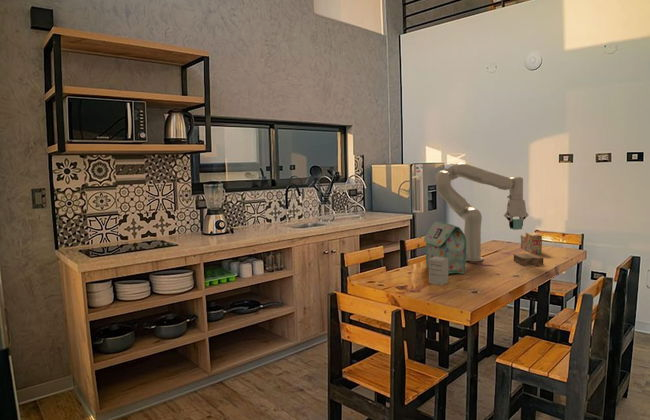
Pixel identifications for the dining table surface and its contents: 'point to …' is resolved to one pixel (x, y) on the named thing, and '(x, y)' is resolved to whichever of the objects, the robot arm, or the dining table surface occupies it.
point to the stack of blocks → (532, 243)
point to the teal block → (517, 224)
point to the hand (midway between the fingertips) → (516, 227)
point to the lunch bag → (447, 245)
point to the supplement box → (438, 270)
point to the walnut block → (528, 259)
